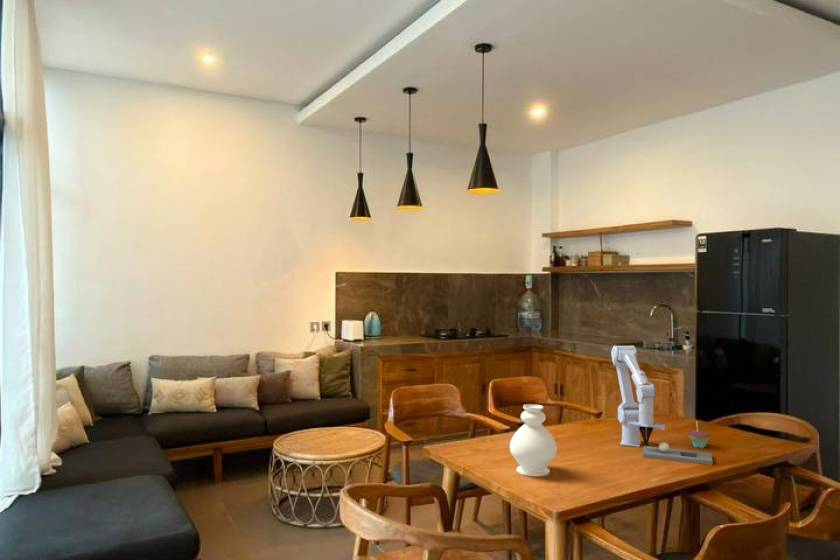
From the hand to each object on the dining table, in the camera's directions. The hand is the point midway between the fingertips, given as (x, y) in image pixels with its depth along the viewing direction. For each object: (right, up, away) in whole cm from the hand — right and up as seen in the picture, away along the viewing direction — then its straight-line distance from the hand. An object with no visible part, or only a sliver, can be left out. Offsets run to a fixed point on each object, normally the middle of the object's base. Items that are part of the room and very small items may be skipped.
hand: (646, 444), depth 249 cm
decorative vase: (-52, -4, -22) cm, 57 cm away
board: (+11, -4, -5) cm, 13 cm away
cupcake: (+27, -4, +11) cm, 30 cm away
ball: (+6, 0, -3) cm, 7 cm away
